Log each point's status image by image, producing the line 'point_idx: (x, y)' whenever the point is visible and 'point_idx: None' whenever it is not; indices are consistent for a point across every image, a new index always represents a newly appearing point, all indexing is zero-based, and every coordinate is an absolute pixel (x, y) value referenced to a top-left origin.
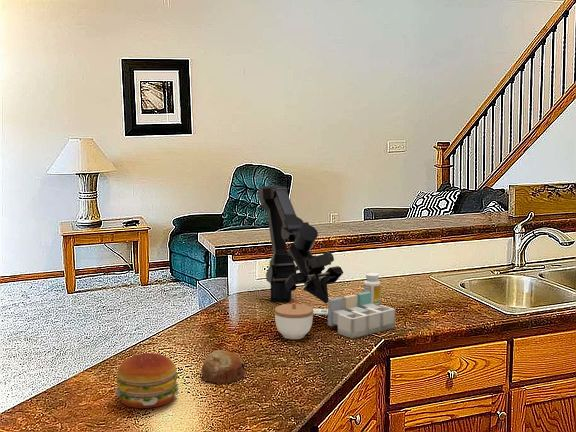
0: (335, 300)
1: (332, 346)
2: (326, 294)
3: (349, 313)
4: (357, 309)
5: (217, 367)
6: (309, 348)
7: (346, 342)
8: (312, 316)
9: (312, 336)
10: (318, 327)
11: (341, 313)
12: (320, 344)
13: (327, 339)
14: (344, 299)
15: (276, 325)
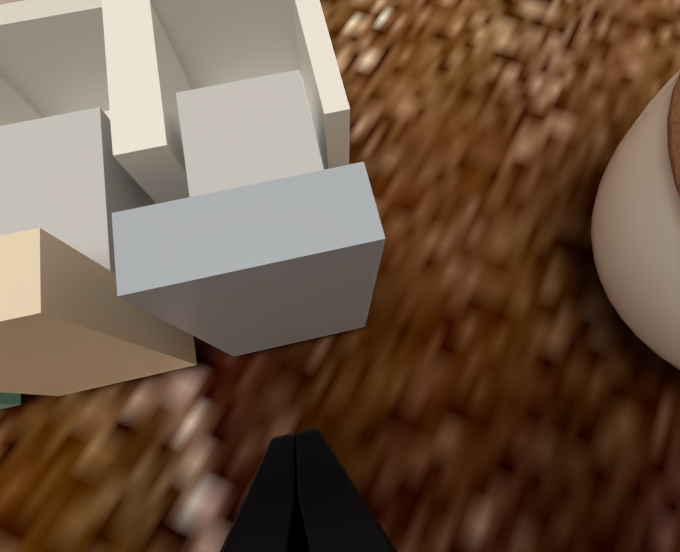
0: (283, 181)
1: (494, 19)
2: (264, 539)
3: (214, 114)
4: (45, 199)
5: None
6: (639, 35)
7: (384, 44)
8: (665, 88)
9: (550, 211)
10: (423, 389)
11: (290, 140)
12: (551, 67)
13: (472, 125)
14: (64, 281)
15: None
